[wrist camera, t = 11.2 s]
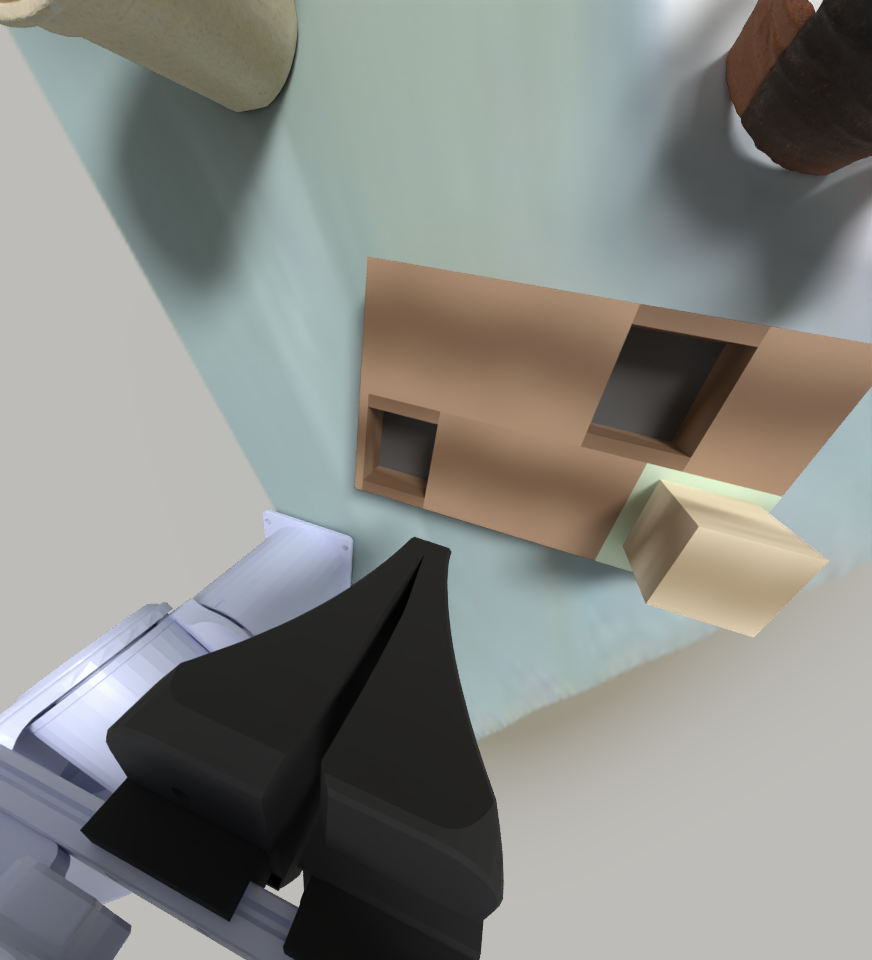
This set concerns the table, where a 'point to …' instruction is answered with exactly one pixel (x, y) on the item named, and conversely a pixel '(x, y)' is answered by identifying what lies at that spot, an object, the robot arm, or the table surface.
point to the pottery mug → (805, 82)
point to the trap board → (581, 404)
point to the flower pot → (182, 40)
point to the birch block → (717, 558)
